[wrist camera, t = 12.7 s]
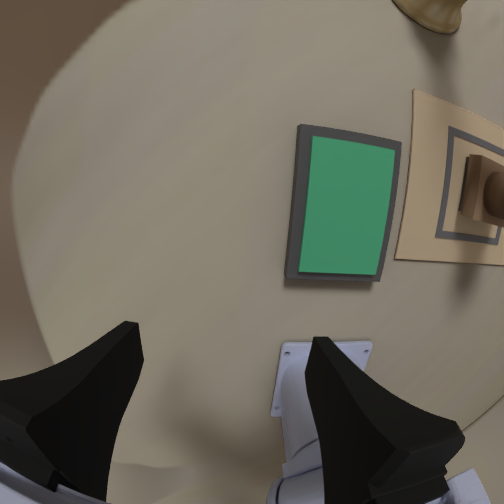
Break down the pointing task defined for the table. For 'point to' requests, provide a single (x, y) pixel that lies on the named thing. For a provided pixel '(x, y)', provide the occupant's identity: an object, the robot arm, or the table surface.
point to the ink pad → (341, 204)
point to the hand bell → (434, 13)
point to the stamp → (483, 190)
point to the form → (446, 185)
